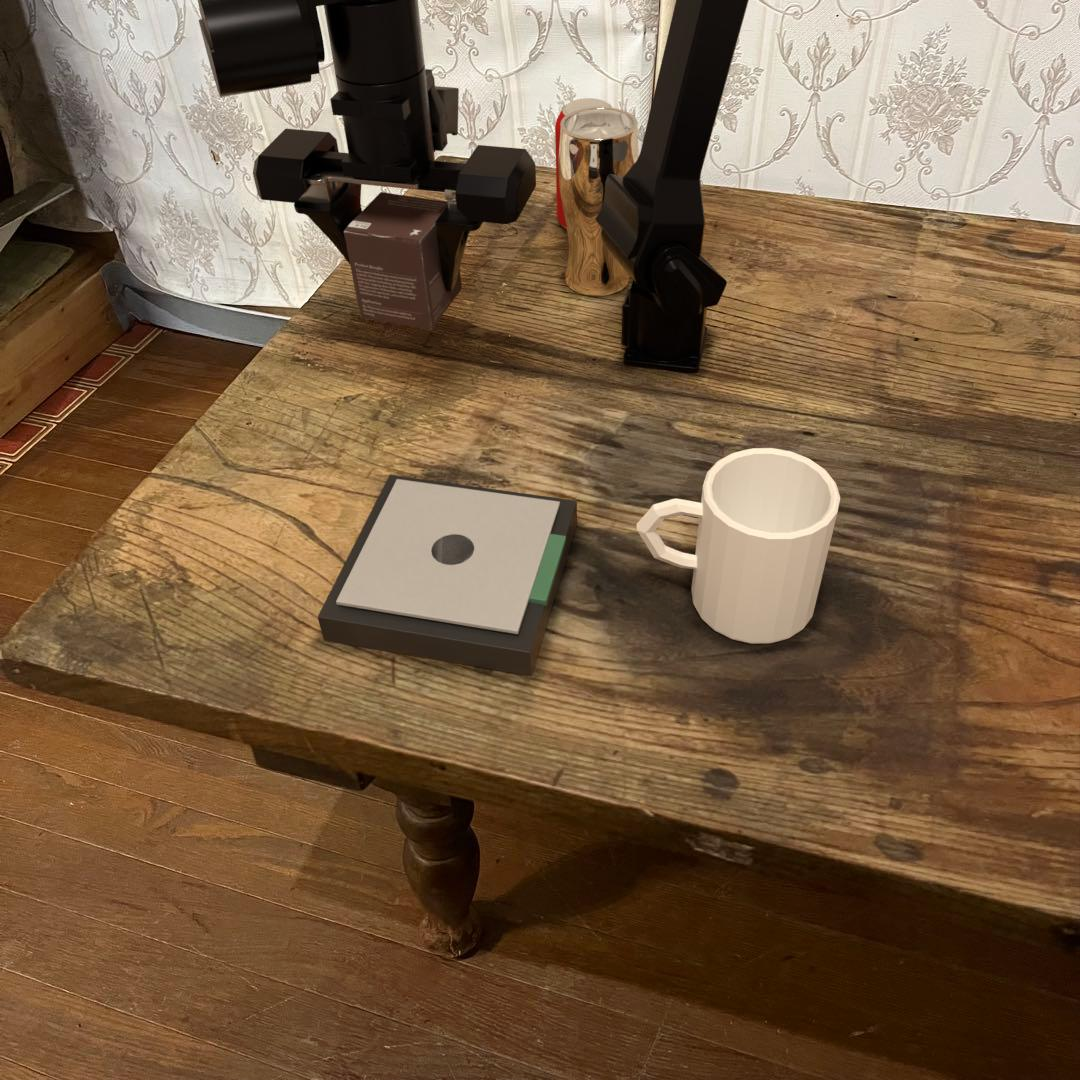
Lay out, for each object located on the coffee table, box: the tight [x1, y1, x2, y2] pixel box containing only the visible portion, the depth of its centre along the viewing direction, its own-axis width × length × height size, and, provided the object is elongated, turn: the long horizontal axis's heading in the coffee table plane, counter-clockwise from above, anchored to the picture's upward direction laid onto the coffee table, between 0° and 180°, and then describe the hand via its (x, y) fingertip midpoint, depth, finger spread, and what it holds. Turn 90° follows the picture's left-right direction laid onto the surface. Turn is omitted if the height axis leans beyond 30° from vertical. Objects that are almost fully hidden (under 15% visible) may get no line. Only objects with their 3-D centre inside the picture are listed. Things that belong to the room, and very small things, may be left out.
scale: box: [317, 474, 578, 677], centre depth 70 cm, size 14×14×3 cm
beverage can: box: [554, 97, 613, 230], centre depth 101 cm, size 6×6×12 cm
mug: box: [635, 447, 841, 645], centre depth 66 cm, size 8×12×10 cm
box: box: [344, 191, 463, 331], centre depth 76 cm, size 6×6×7 cm
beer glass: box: [559, 107, 640, 297], centre depth 93 cm, size 7×7×15 cm
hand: (409, 283), depth 77 cm, fingers closed on box, 6 cm apart
